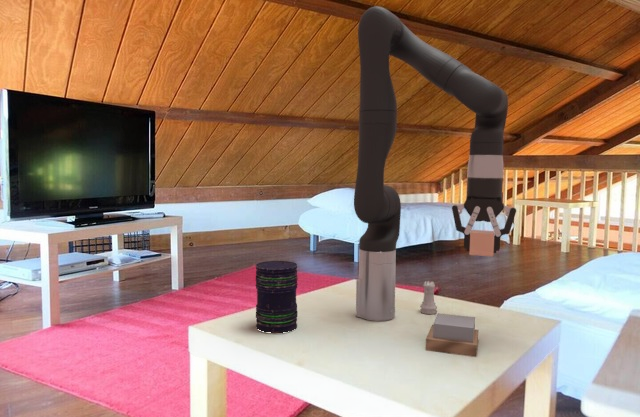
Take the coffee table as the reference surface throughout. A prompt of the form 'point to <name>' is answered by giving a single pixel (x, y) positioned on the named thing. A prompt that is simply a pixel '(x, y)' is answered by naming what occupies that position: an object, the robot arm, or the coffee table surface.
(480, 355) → the coffee table surface
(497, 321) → the coffee table surface
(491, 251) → the terracotta cube
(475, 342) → the walnut base slab
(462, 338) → the slate top block
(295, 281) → the storage jar
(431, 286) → the rook chess piece
